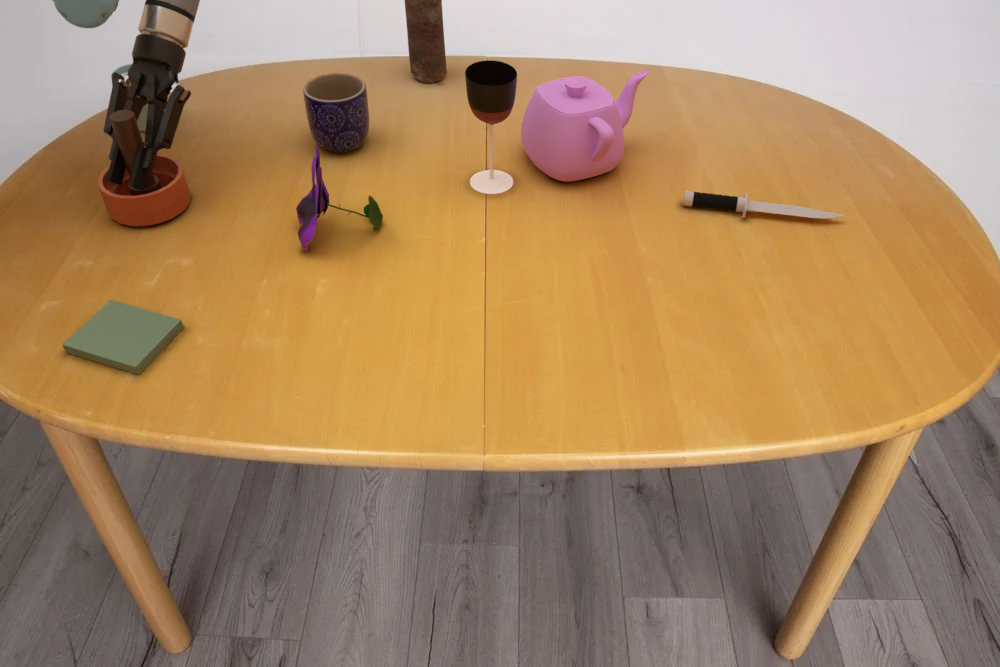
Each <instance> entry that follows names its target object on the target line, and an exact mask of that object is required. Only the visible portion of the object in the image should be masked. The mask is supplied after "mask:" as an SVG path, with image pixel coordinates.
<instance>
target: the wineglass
mask: <svg viewBox="0 0 1000 667" xmlns="http://www.w3.org/2000/svg"><path fill="white" fill-rule="evenodd" d="M464 76H465V88H466V96H467V97H466V98H467V102H468V106H469V109H470V110H471V113H472V114H473V116H475V118H476V119H478V120H479V121H481V122H483V123H484V124H488V142H489V143H488V165H489V166H488V168H489V169H485V170H484V169H483V170H480V171H478V172H476V173H474V174H473V175H472V176H471V177H470V179H469V185H470V187H471V188H472V189H473V190H475V191H477V192H478V193H481V194H486V195H497V194H502V193H505V192H507V191H508V190H510V189H511V188H512V187H513V185H514V179H513V176H512V175H510V174H509V173H507V172H505V171H503V170H498V169H495V154H494V153H495V150H494V149H495V139H494V137H495V135H494V132H495V131H494V130H495V128H494V127H495V126H494V125H497V124H500V123H502V122H504V121H505V120H507V119H508V118H509V116H510V115H511V113H512V111H513V108H514V105H515V100H516V95H517V94H516V93H517V83H518V82H517V81H518V72H517V70H516V68H514V67H513V65H510V64H508V63H507V62H504V61H499V60H490V59H489V60H480V61H475V62H473V63H471V64H470V65H468V66H467V67H466V68H465V70H464Z"/></svg>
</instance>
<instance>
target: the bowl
mask: <svg viewBox="0 0 1000 667" xmlns="http://www.w3.org/2000/svg"><path fill="white" fill-rule="evenodd" d="M109 167H110V165H108V166H106V168H104V169H103V170H102V171H101V173H100V175H99V176H98V179H97V186H98V190H99V191H100V194H101V198H102V200H103V203H104V205H105V208H106V211H107V214H108V215H109V217H110V218H111V219H112V220H113V221H115V222H116V223H117V224H122V225H125V226H130V227H146V226H154V225H158V224H161V223H164V222H167V221H170V220H172V219H173V218H175V217H177V216H178V215H180V214H181V213H182V212H184V211H185V210H186V209H187V208H188V206H189V205H190V202H191V192H190V187H189V185H188V180H187V177H186V173H185V170H184V166H183V165H182V163H181V162H180V160H178V159H177V158H175V157H173V156H171V155H167V154H163V153H157V156H156V160H155V163H154V167H153V169H152V172H153V175H155V176H157V177H158V178H159V181H160V184H161V189H159V190H157V191H154V192H151V193H148V194H142V195H135V196H131V193H130V190H129V187H128V183H129V181H130V177H129V174H128V171H127V168H126V170H125V173H124V177H123V181H122V185H118V184H115V183H112V182H109V181H106V178H107V174H108V171H109Z"/></svg>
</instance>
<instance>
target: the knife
mask: <svg viewBox="0 0 1000 667" xmlns="http://www.w3.org/2000/svg"><path fill="white" fill-rule="evenodd" d="M682 206H684V207H691V208H700V209H709V210H719V211H724V212H725V211H729V212H734V213H742V216H741V217H742V218H743V219H745V218H746V216H747V212H751V213H757V212H758V213H765V214H776V215H782V216H783V215H784V216H791V217H800V218H801V217H802V218H808V219H809V218H810V219H834V218H835V219H836V218H840V217H845V216H847V215H846V214H843V213H836V212H829V211H825V210H820V209H815V208H810V207H806V206H801V205H795V204H794V205H793V204H785V203H775V202H766V201H760V200H759V201H758V200H751V199H748V192H744V194H743V196H735V195H728V194H727V195H726V194H724V195H723V194H718V193H717V194H716V193H707V192H699V191H690V190H685V191H684V196H683V202H682Z"/></svg>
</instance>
